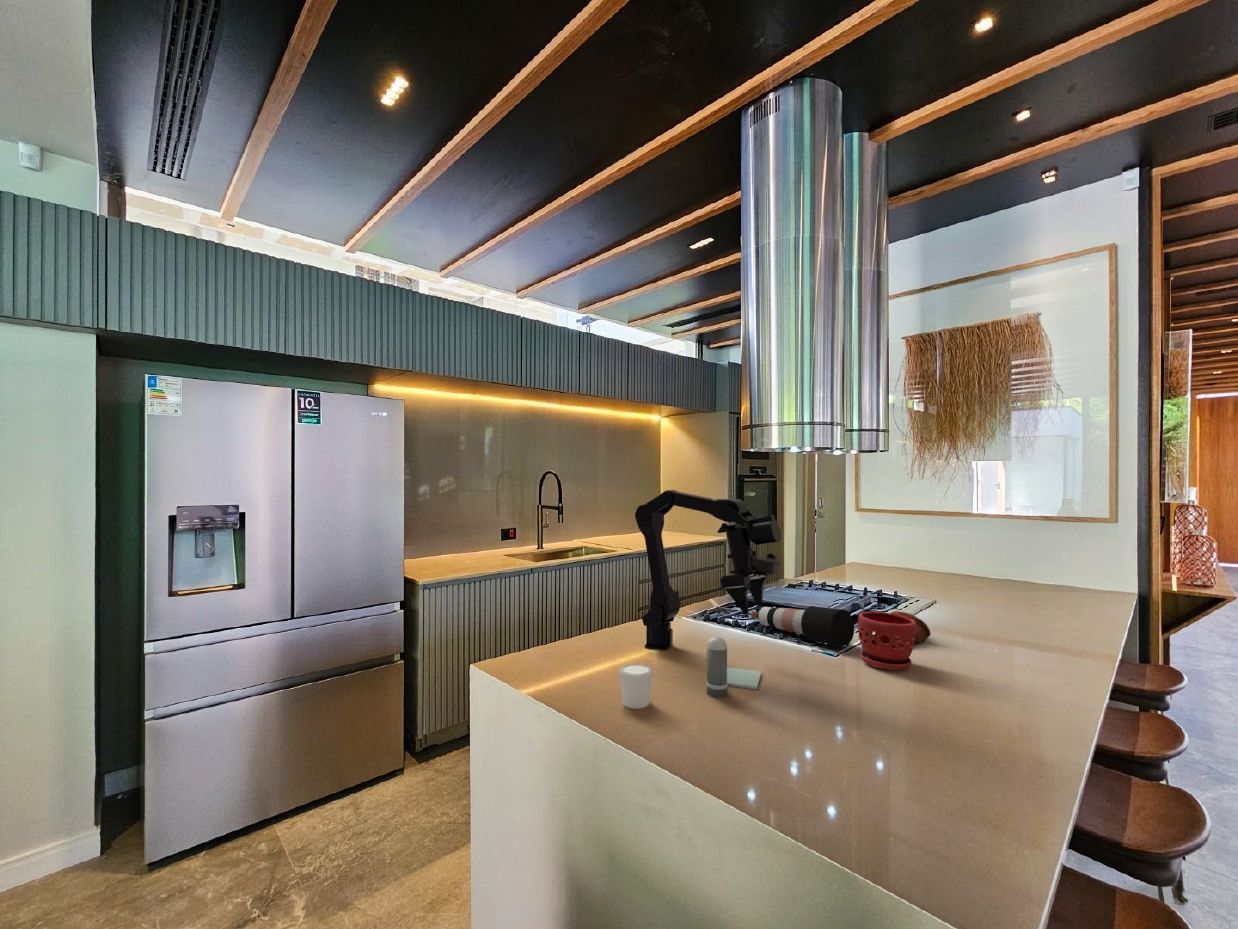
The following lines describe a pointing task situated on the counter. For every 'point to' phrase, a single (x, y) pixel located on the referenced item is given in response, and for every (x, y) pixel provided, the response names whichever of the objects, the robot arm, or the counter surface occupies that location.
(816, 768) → the counter surface
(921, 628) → the pastry
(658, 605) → the robot arm
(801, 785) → the counter surface
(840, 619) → the striped bottle
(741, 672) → the coaster
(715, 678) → the cylinder
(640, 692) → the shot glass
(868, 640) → the plant pot
